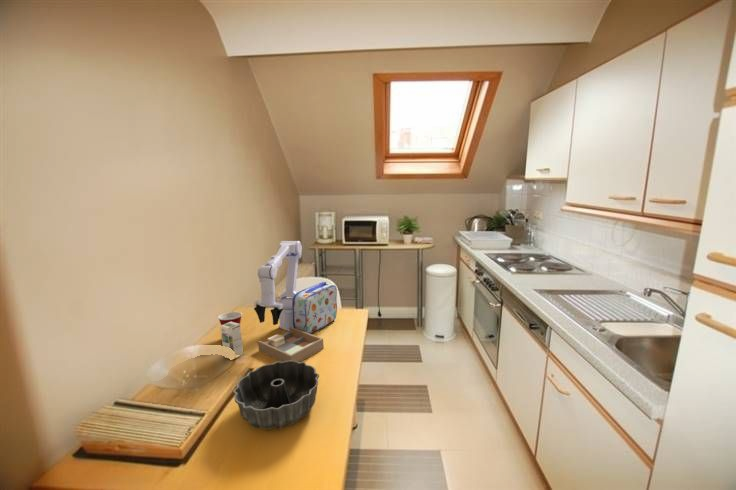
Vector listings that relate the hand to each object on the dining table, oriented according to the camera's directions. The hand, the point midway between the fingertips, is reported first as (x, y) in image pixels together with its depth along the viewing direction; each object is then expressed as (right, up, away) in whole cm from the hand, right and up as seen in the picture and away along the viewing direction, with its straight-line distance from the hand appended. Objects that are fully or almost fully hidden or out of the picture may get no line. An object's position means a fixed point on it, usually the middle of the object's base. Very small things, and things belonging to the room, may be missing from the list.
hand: (268, 323), depth 147 cm
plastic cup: (-21, -10, +13) cm, 27 cm away
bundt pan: (+15, -19, -38) cm, 45 cm away
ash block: (+3, -9, 0) cm, 10 cm away
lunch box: (+18, -7, +24) cm, 30 cm away
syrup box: (-14, -13, -4) cm, 20 cm away
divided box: (+10, -12, 0) cm, 15 cm away
